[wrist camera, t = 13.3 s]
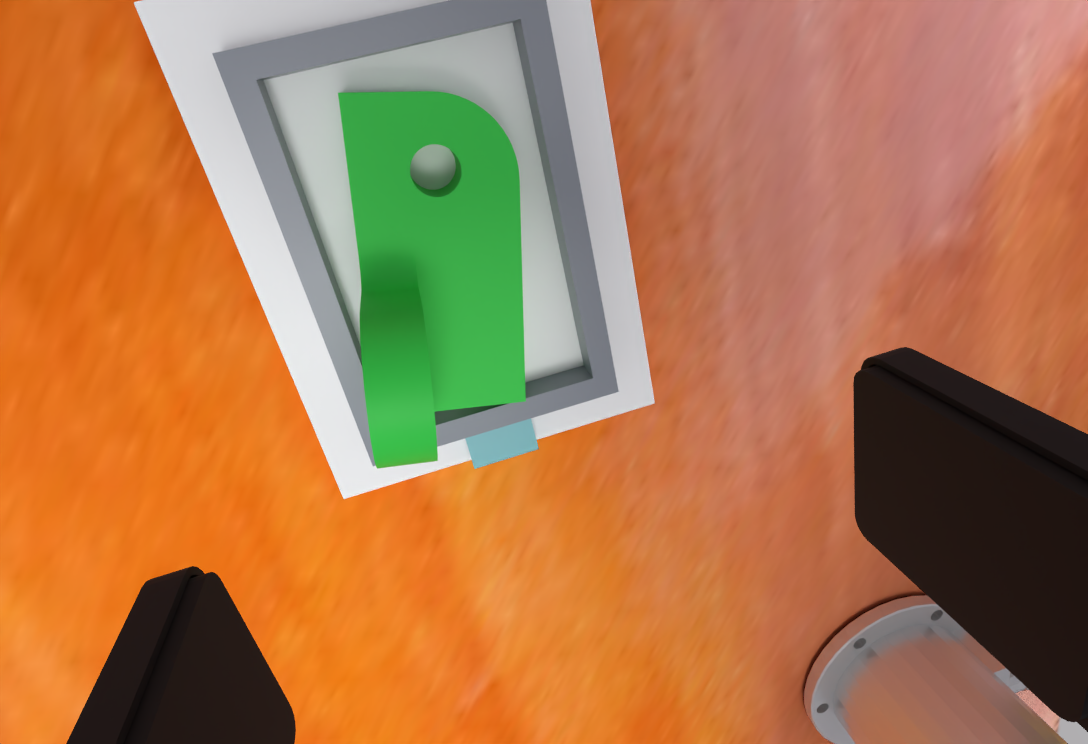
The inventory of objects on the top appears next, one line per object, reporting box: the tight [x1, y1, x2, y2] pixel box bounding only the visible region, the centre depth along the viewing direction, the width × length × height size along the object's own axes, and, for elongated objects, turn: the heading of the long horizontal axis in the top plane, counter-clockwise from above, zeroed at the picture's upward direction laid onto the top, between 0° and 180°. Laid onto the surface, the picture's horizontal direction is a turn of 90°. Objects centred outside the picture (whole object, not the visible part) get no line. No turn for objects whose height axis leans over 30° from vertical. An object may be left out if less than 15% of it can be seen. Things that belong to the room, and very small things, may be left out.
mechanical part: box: [338, 91, 526, 469], centre depth 23 cm, size 12×6×8 cm, turn 1°
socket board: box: [134, 0, 655, 499], centre depth 26 cm, size 15×20×3 cm
